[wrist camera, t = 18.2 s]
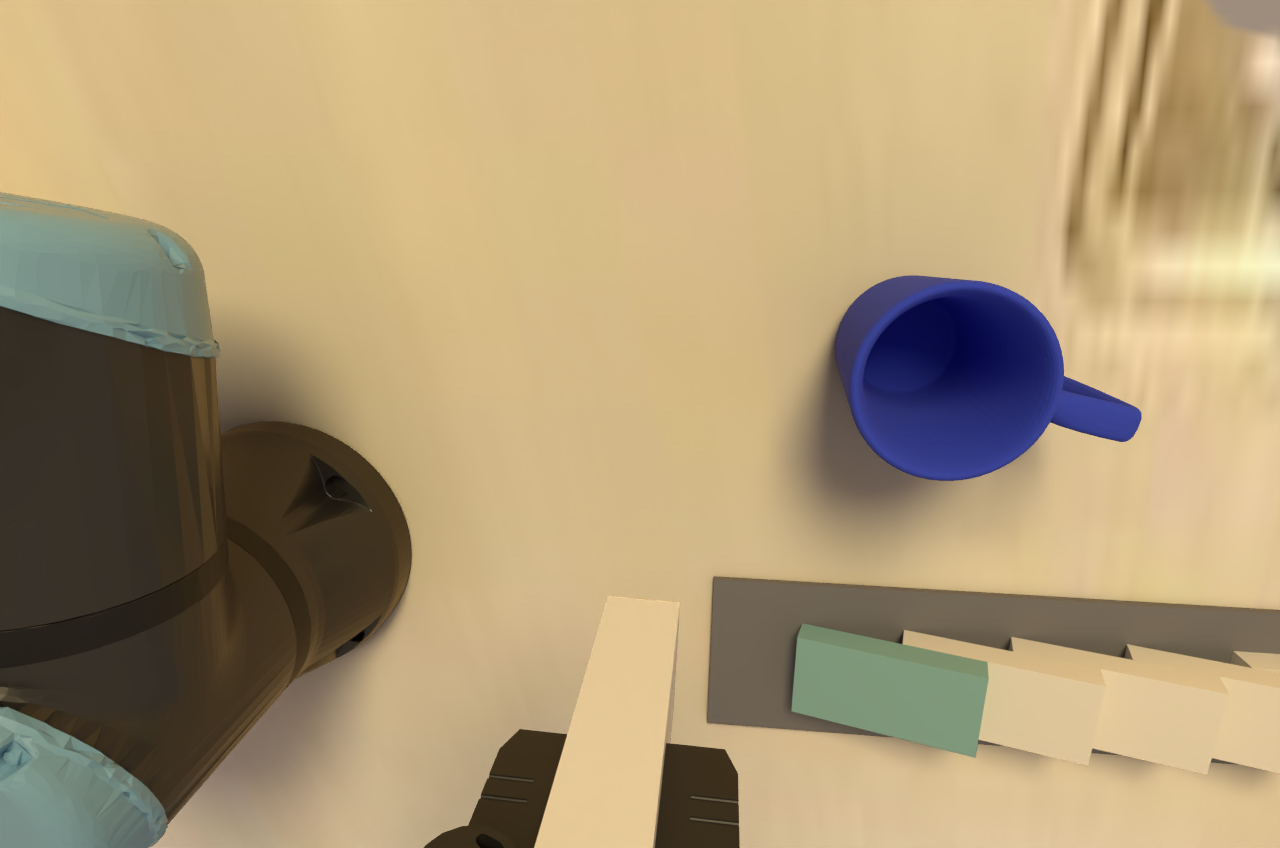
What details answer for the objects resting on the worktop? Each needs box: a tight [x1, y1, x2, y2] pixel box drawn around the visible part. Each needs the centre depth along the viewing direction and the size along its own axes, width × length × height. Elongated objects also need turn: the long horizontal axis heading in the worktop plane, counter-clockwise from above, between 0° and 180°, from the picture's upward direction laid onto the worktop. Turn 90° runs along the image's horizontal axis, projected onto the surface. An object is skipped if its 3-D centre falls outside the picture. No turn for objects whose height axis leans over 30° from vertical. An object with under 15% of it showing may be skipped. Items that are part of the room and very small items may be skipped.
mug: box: [835, 276, 1141, 481], centre depth 34 cm, size 8×12×10 cm
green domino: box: [791, 623, 989, 757], centre depth 42 cm, size 2×5×10 cm
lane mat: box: [708, 577, 1280, 764], centre depth 44 cm, size 34×10×1 cm, turn 89°
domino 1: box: [902, 630, 1106, 766], centre depth 42 cm, size 2×5×10 cm
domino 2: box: [1009, 637, 1230, 775], centre depth 41 cm, size 2×5×10 cm
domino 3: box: [1124, 644, 1280, 773], centre depth 41 cm, size 2×5×10 cm
